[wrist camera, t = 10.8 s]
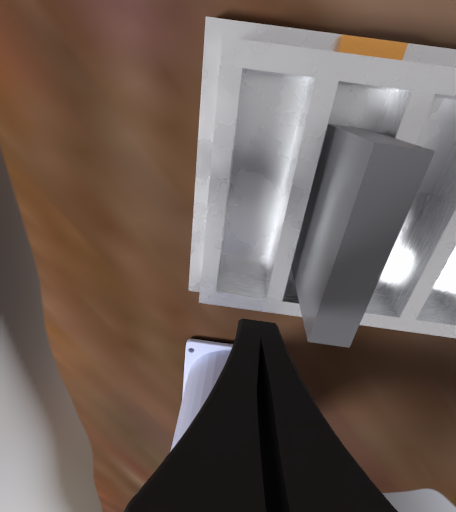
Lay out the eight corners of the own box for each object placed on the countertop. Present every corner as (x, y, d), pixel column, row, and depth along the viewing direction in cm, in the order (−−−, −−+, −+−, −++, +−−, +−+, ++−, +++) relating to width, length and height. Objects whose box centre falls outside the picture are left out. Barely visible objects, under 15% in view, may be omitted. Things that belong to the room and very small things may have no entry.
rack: (451, 318, 23) (483, 354, 20) (191, 282, 23) (181, 312, 20) (606, 73, 15) (697, 68, 12) (208, 21, 15) (197, 2, 12)
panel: (320, 270, 20) (349, 347, 14) (291, 266, 20) (307, 341, 14) (365, 128, 16) (435, 151, 10) (327, 123, 16) (374, 142, 10)
